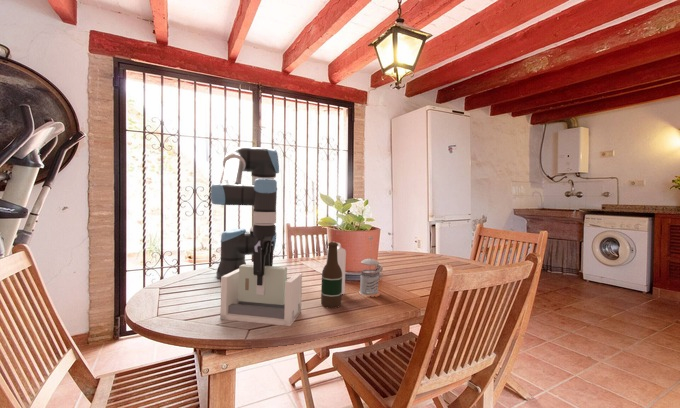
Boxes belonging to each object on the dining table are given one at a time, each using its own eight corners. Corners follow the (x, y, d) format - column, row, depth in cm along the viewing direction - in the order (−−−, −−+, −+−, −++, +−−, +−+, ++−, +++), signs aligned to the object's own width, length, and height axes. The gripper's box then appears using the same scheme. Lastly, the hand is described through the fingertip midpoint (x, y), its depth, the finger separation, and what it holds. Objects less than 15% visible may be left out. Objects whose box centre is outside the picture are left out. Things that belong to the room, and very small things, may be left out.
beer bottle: (345, 305, 117) (347, 243, 117) (330, 310, 112) (332, 244, 111) (331, 300, 123) (333, 240, 122) (316, 304, 117) (318, 242, 117)
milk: (333, 296, 127) (334, 244, 126) (325, 292, 132) (326, 241, 131) (344, 294, 131) (346, 242, 130) (336, 290, 136) (337, 240, 135)
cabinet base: (220, 318, 101) (221, 276, 100) (238, 306, 113) (239, 268, 112) (290, 326, 97) (291, 282, 97) (300, 312, 109) (302, 273, 108)
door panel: (286, 301, 105) (287, 267, 105) (283, 305, 102) (284, 269, 101) (242, 298, 107) (243, 264, 107) (238, 301, 104) (239, 266, 104)
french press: (353, 292, 133) (354, 235, 133) (373, 288, 140) (375, 234, 140) (367, 299, 125) (369, 238, 125) (388, 294, 132) (390, 236, 131)
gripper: (263, 221, 113) (262, 285, 113) (243, 225, 97) (241, 299, 97) (283, 222, 111) (281, 286, 112) (265, 226, 95) (263, 301, 96)
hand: (262, 292), depth 105 cm, fingers closed on door panel, 3 cm apart
